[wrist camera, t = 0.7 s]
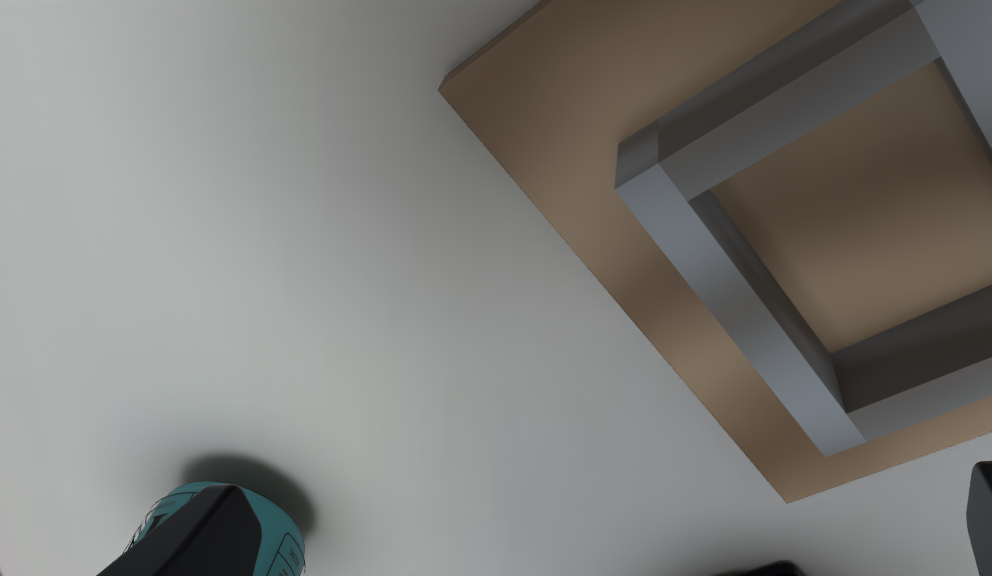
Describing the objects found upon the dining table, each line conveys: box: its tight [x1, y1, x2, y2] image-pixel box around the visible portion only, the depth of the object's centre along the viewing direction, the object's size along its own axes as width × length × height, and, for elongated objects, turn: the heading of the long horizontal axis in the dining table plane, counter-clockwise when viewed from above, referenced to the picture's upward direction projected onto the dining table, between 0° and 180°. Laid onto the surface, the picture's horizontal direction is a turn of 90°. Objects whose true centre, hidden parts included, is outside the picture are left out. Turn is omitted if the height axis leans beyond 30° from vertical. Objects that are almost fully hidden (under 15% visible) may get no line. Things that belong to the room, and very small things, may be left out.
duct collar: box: [438, 0, 992, 504], centre depth 20 cm, size 18×14×4 cm
